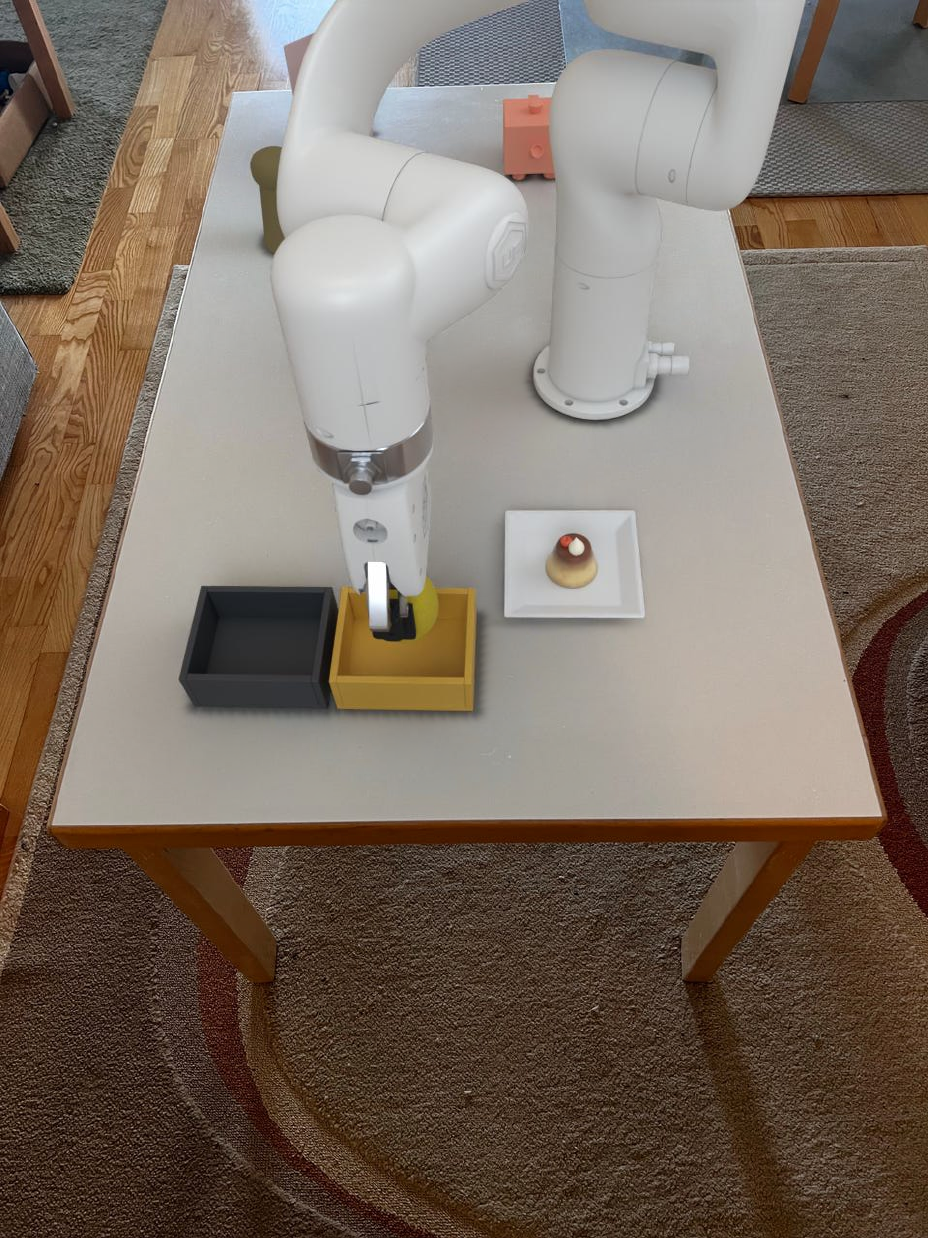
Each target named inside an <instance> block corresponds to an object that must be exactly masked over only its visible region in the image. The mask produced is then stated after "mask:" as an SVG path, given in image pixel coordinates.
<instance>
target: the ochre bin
mask: <svg viewBox="0 0 928 1238" xmlns="http://www.w3.org/2000/svg"><path fill="white" fill-rule="evenodd" d="M434 588H435V590H436V592H437V597H438V603H439V607H438V616H437V619H436V621H435V624H434V626H433V627H432V628H431V630H430V631H429V632H428V633H427V634H426V635H425V636H424V637H422V638H420V639H418V640H416V641H413V642H409V643H399V642H390V641H385V640H383V639H375V638H374V637H373V634H372V631H370V628H369V616H368V613H367V609H366V590H365V592H362V595H359V594H358V593H357V592H356V591H355V590H354V589H353V587H352V586H342V587H341V591H340V599H339V606H338V611H339V612H338V619H337V626H336V634H335V641H334V648H333V655H332V663H331V670H330V677H329V683H330V687H331V688H330V691H331V692H332V696H333V700H334V702H335V705H336V708H337V709H338V710H380V711H381V710H383V711H384V710H385V711H387V710H389V711H391V710H392V711H445V712H446V711H447V712H448V711H450V712H453V711H454V712H474V701H475V699H474V697H475V673H476V672H475V671H476V670H475V669H476V645H477V643H476V641H477V601H476V598H477V597H476V588H475V587H434Z"/></svg>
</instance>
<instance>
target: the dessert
mask: <svg viewBox="0 0 928 1238" xmlns="http://www.w3.org/2000/svg"><path fill="white" fill-rule="evenodd" d="M637 528H638V527H637V518H636V511H635V510H633V509H629V510H628V509H627V510H625V509H623V510H622V509H618V510H617V509H613V510H612V509H608V510H607V509H603V510H602V509H601V510H600V509H596V510H595V509H591V510H589V509H588V510H587V509H586V510H585V509H583V510H581V509H579V510H577V509H576V510H575V509H569V510H567V509H564V510H563V509H561V510H559V509H558V510H557V509H549V510H547V509H546V510H545V509H544V510H543V509H533V510H531V509H527V510H526V509H525V510H524V509H520V510H519V509H507V510H505V511H504V593H503V594H504V597H503V598H504V599H503V601H504V607H503V611H504V613H503V614H504V615H503V616H504V617H505V618H562V619H563V618H571V619H573V618H574V619H575V618H576V619H577V618H578V619H579V618H580V619H582V618H583V619H585V618H586V619H587V618H589V619H644V618H645V617H646V611H645V601H644V591H643V580H642V571H641V570H642V569H641V560H640V550H639V549H640V548H639V538H638V529H637Z"/></svg>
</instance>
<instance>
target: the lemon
mask: <svg viewBox="0 0 928 1238" xmlns="http://www.w3.org/2000/svg"><path fill="white" fill-rule="evenodd" d="M435 588H436V587H435V586H434V584H433V581H432V580H431V579H430V578H429V577H428V576H427V575H426V580H425V586H424V589H423V591H422V592H421V593H420V594H419V595H418V596H408V602H409V603H412V604H413V611H414V618H415V625H416V638H415V639H413V640H401V641H398V642H399V643H409V642H413V641H416V640H418V639H420V638H422V637H424V636H425V635H426V634H427V633H428V632H429V631H430V630H431V628H432V627H433V626H434V624H435V621H436V619H437V616H438V607H439V603H438V597H437V592H436V590H435ZM389 599H398V590H389ZM366 609H367V600H366ZM367 613H368V610H367Z"/></svg>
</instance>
